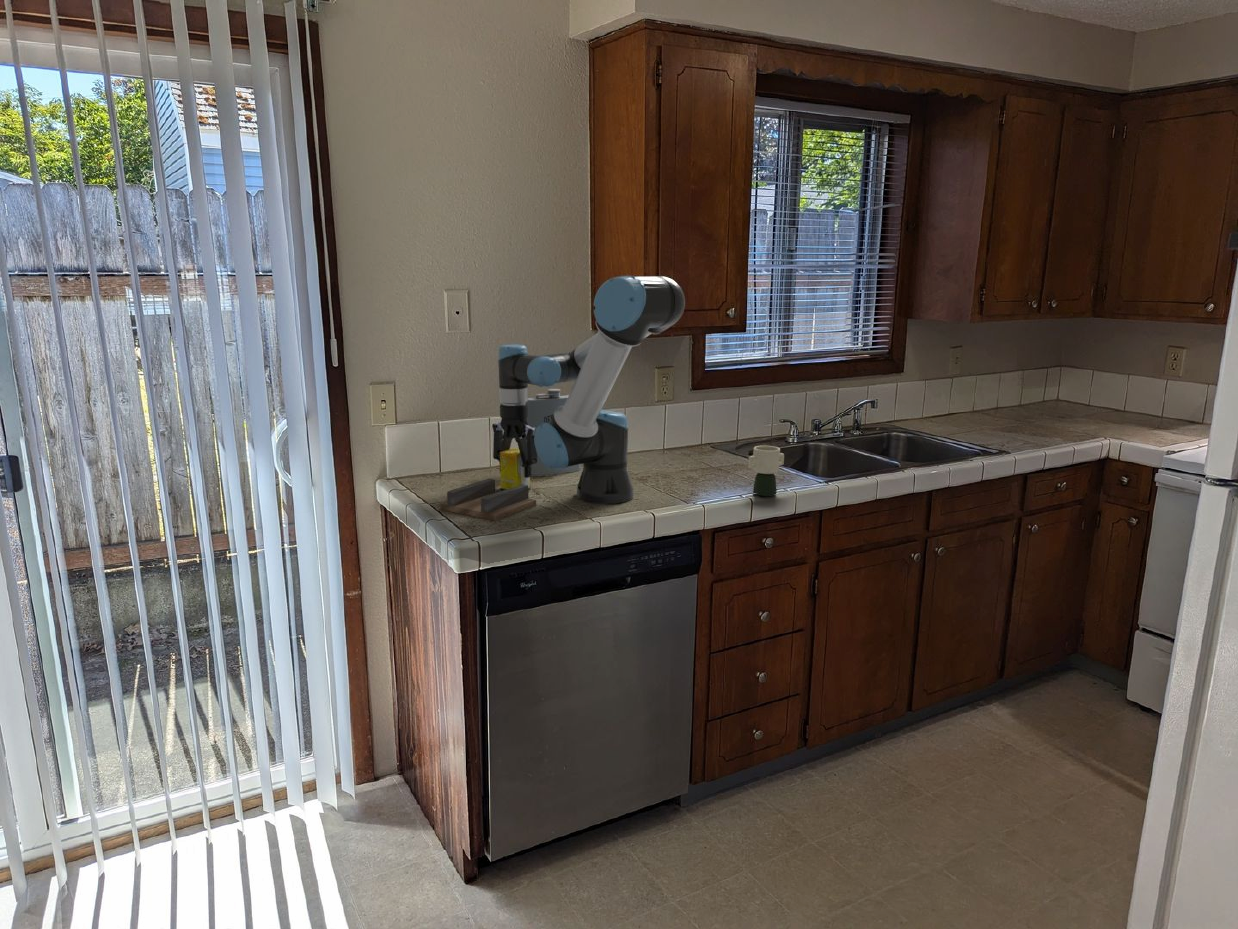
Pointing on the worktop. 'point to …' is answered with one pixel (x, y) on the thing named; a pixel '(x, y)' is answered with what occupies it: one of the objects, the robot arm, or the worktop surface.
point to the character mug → (765, 468)
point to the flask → (542, 413)
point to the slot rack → (487, 500)
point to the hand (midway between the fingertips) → (515, 486)
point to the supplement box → (510, 468)
